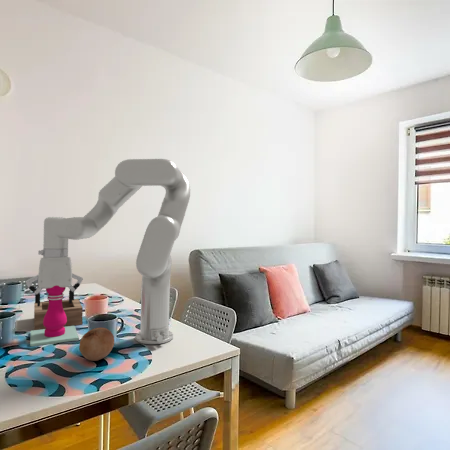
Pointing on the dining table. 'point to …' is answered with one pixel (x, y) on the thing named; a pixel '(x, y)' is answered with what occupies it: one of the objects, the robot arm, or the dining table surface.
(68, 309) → the box
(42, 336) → the green mat
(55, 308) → the pepper mill
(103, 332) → the brown oval lump
